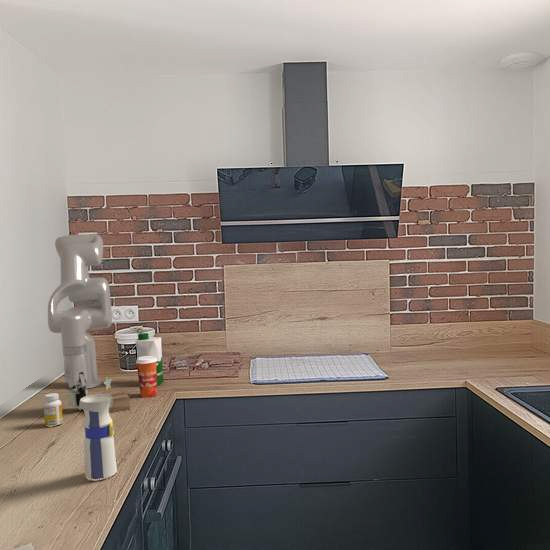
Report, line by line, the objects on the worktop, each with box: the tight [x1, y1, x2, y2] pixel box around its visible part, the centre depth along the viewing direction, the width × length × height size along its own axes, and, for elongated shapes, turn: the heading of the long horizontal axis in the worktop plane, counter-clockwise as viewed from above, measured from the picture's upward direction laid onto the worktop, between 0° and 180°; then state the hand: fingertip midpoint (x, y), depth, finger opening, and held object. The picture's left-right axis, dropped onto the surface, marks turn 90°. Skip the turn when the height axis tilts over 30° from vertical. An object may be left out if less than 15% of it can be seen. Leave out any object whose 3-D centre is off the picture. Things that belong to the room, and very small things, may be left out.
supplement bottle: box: [43, 392, 64, 426], centre depth 195 cm, size 5×5×10 cm
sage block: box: [67, 389, 89, 409], centre depth 210 cm, size 5×5×5 cm
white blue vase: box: [78, 376, 118, 479], centre depth 152 cm, size 8×8×25 cm
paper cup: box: [135, 356, 158, 398], centre depth 225 cm, size 8×8×14 cm
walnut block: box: [102, 390, 131, 414], centre depth 210 cm, size 10×10×5 cm
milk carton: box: [134, 332, 164, 386], centre depth 242 cm, size 9×9×20 cm
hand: (78, 402), depth 210 cm, fingers closed on sage block, 5 cm apart
